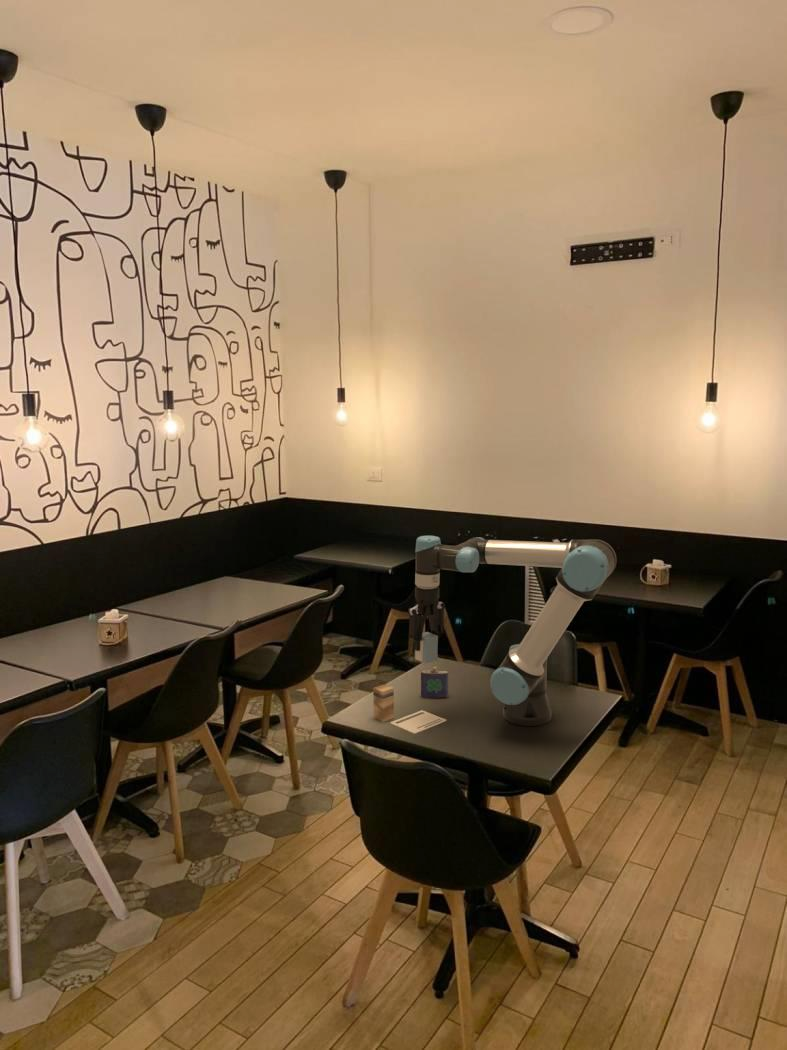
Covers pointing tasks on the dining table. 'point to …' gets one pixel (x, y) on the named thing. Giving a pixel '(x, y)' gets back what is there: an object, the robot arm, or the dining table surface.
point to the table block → (383, 703)
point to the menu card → (418, 722)
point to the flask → (434, 684)
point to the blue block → (429, 647)
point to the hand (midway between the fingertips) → (426, 658)
